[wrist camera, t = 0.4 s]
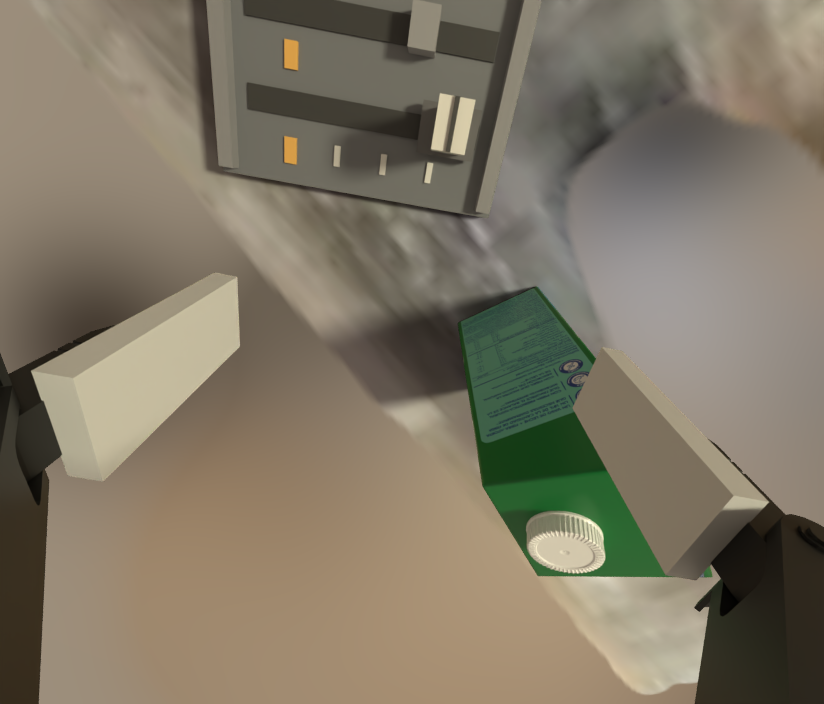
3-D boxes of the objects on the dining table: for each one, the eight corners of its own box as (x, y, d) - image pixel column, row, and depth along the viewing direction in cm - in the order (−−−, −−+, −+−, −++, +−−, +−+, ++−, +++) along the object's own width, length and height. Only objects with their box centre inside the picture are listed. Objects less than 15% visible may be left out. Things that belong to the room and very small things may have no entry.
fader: (424, 101, 29) (421, 82, 22) (480, 111, 30) (496, 97, 22) (416, 152, 31) (411, 150, 24) (470, 162, 31) (481, 163, 24)
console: (217, -73, 27) (189, -102, 24) (540, -8, 28) (553, -29, 25) (231, 170, 34) (211, 171, 31) (486, 216, 35) (491, 221, 32)
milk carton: (457, 322, 40) (486, 523, 18) (537, 285, 38) (683, 463, 16) (489, 385, 44) (548, 617, 22) (565, 354, 42) (716, 580, 19)
